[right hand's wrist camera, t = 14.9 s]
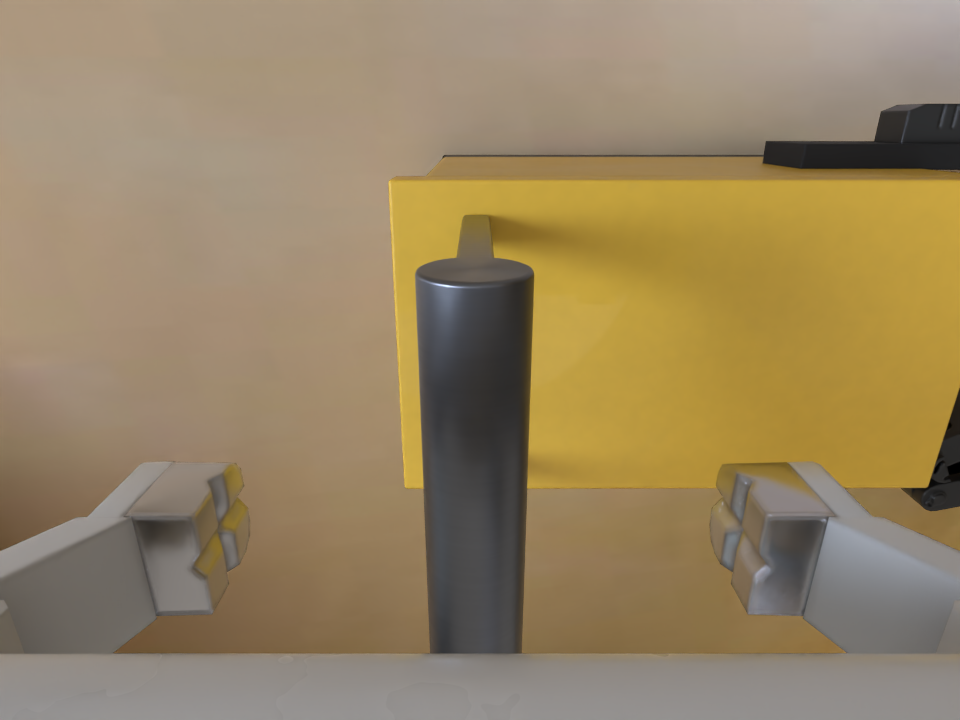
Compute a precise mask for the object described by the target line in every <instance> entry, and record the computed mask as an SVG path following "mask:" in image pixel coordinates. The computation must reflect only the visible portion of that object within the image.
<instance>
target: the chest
mask: <svg viewBox="0 0 960 720" xmlns="http://www.w3.org/2000/svg"><path fill="white" fill-rule="evenodd" d="M763 157H764V155H444V156H443V159H442V160H441V161H440V162H439V163H438V164H437V165H436V166H435V167H434V168H433V169H432V170H431V171H430V172H429V174H428V175H427V176H960V173H957V172H947V171H938V170H929V169H798V168H791V167H785V166H778V165H771V164H764V163H763Z"/></svg>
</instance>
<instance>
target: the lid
mask: <svg viewBox="0 0 960 720" xmlns="http://www.w3.org/2000/svg"><path fill="white" fill-rule="evenodd" d="M388 188H389V206H390V225H391V244H392V262H393V281H394V299H395V318H396V337H397V355H398V374H399V393H400V411H401V430H402V449H403V467H404V486H405V488H407V489H424V512H425V537H426V562H427V586H428V611H429V636H430V654H522V627H523V598H524V568H525V538H526V509H527V488H717V487H716V481H717V476H718V472H719V470H720V468H721V465H722V464H733V463H773V462H803V461H813V462H816V463H818V464H820V465H821V466H822V467H823V468H824V469H825V470H826V471H827V472H828V473H829V474H830V475H831V476H832V477H833V478H834V479H835V480H836V481H837V482H838V483H839V484H840V485H841V486H842V487H843V488H927V487H928V485H929V482H930V479H931V476H932V473H933V470H934V467H935V464H936V460H937V457H938V454H939V451H940V448H941V445H942V442H943V439H944V435H945V432H946V429H947V426H948V423H949V420H950V417H951V414H952V410H953V407H954V404H955V401H956V398H957V395H958V392H959V388H960V176H396V177H394V178H392V179H391V180H389V183H388Z"/></svg>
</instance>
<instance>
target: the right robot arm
mask: <svg viewBox="0 0 960 720" xmlns="http://www.w3.org/2000/svg"><path fill="white" fill-rule="evenodd" d="M243 487H244V482H243V477H242V472H241V468H240V467H239V466H238V465H237V464H236V463H212V462H174V461H167V462H146V463H141V464H140V465H139V466H138V467H137V468H136V469H135V470H134V471H133V472H132V473H131V474H130V475H129V476H128V477H127V478H126V479H125V480H124V481H123V482H122V483H121V484H120V485H119V486H118V487H117V488H116V489H115V490H114V491H113V492H112V493H111V494H110V495H109V496H108V497H107V498H106V499H105V500H104V501H103V502H102V503H101V504H100V505H99V506H98V507H97V508H96V509H95V510H94V511H93V512H92V513H91V514H90V515H89V516H88V517H76V518H74V519H72V520H70V521H67V522H65V523H63V524H61V525H58V526H56V527H54V528H51V529H49V530H47V531H45V532H42V533H40V534H38V535H36V536H33V537H31V538H29V539H27V540H24V541H22V542H20V543H18V544H15V545H13V546H11V547H8V548H6V549H4V550H2V551H0V720H960V551H958V550H956V549H954V548H951V547H949V546H947V545H945V544H942V543H940V542H938V541H936V540H933V539H931V538H929V537H927V536H924V535H922V534H920V533H917V532H915V531H913V530H911V529H908V528H906V527H904V526H902V525H899V524H897V523H895V522H893V521H890V520H888V519H886V518H884V517H872V516H871V515H870V514H869V513H868V512H867V511H866V510H865V509H864V508H863V507H862V506H861V505H860V504H859V503H858V502H857V501H856V500H855V499H854V498H853V497H852V496H851V495H850V494H849V493H848V492H847V491H846V490H845V489H844V488H843V487H842V486H841V485H840V484H839V483H838V482H837V481H836V480H835V479H834V478H833V477H832V476H831V475H830V474H829V473H828V472H827V471H826V470H825V469H824V468H823V467H822V466H821V465H820V464H818V463H816V462H813V461H803V462H773V463H733V464H722V465H721V468H720V470H719V472H718V476H717V481H716V487H717V489H718V490H719V492H720V493H721V495H722V496H723V497H722V498H721V499H720V500H719V501H718V502H717V503H716V504H715V505H714V506H713V507H712V511H711V519H710V534H711V543H712V546H713V549H714V553H715V555H716V557H717V559H718V561H719V562H720V564H721V565H723V566H724V567H726V568H727V569H729V570H730V571H732V572H733V575H732V580H731V585H732V587H733V588H734V590H735V592H736V594H737V596H738V597H739V599H740V601H741V603H742V605H743V606H744V608H745V610H746V612H747V614H750V615H787V616H803V619H804V620H806V621H807V622H808V623H810V624H811V625H812V626H813V627H815V628H816V629H817V630H819V631H820V632H821V633H822V634H824V635H825V636H826V637H827V638H829V639H830V640H831V641H833V642H834V643H835V644H836V645H838V646H839V647H840V648H842V649H843V650H844V651H845V652H847V653H688V654H262V653H261V654H260V653H114V652H115V651H116V650H117V649H119V648H120V647H121V646H123V645H124V644H125V643H126V642H128V641H129V640H130V639H131V638H133V637H134V636H135V635H137V634H138V633H139V632H140V631H142V630H143V629H144V628H146V627H147V626H148V625H149V624H151V623H152V622H153V621H155V620H156V619H157V617H156V616H172V615H208V614H213V612H214V610H215V608H216V606H217V605H218V603H219V601H220V599H221V597H222V596H223V594H224V592H225V590H226V588H227V587H228V585H229V580H228V575H227V572H228V571H230V570H231V569H233V568H234V567H236V566H237V565H239V564H240V562H241V561H242V559H243V557H244V555H245V553H246V550H247V545H248V541H249V536H250V517H249V511H248V507H247V506H246V505H245V504H244V503H243V502H242V501H241V500H240V499H239V498H238V497H237V496H238V495H239V493H240V492H241V490H242V489H243Z"/></svg>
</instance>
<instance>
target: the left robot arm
mask: <svg viewBox="0 0 960 720" xmlns="http://www.w3.org/2000/svg"><path fill="white" fill-rule="evenodd" d="M763 163H764V164H771V165H778V166H785V167H791V168H798V169H929V170H960V104H911V105H896V106H894V107H891V108H889V109H886V110H884V111H881V114H880V118H879V123H878V127H877V132H876V136H875V140H874V141H766V145H765V151H764V157H763ZM901 489H902V490H903V491H905V492H906V493H907V494H908V495H909V496H910V497H912V498H913V499H914V500H915V501H916V502H918V503H919V504H920V505H921V506H922V507H923V508H925V509H926V510H929V511H938V510H943V509H948V508H953V507H958V506H960V388H959V392H958V395H957V398H956V401H955V404H954V407H953V410H952V414H951V417H950V420H949V423H948V426H947V429H946V432H945V435H944V439H943V442H942V445H941V448H940V451H939V454H938V457H937V460H936V464H935V467H934V470H933V473H932V476H931V479H930V482H929V485H928V487H927V488H901Z"/></svg>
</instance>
